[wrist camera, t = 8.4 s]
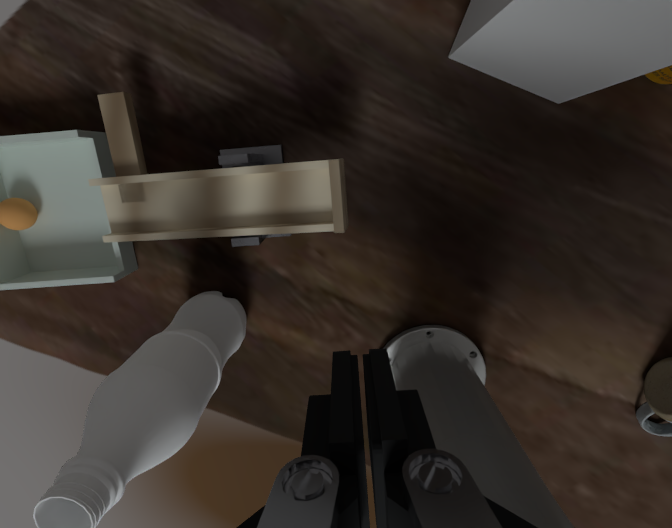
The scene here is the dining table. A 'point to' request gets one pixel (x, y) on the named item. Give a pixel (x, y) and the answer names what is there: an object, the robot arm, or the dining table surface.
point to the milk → (565, 43)
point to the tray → (59, 212)
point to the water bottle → (145, 410)
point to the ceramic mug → (657, 398)
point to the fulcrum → (251, 158)
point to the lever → (212, 192)
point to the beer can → (661, 75)
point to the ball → (17, 214)
